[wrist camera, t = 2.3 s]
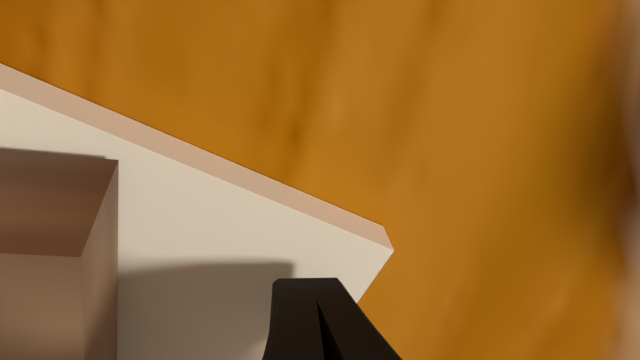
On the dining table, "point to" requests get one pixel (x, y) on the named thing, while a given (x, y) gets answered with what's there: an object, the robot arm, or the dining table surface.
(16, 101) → the seat board
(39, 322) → the leg
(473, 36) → the dining table surface
